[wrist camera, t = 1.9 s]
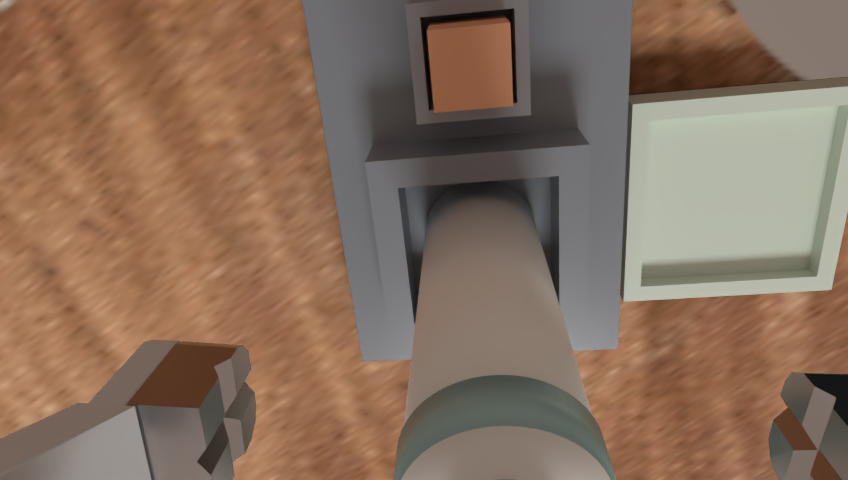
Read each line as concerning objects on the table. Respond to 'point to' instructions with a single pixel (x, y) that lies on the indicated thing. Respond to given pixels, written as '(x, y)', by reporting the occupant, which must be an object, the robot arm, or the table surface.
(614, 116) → the housing
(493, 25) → the plunger
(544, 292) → the cartridge
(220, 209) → the table surface
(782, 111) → the tray
